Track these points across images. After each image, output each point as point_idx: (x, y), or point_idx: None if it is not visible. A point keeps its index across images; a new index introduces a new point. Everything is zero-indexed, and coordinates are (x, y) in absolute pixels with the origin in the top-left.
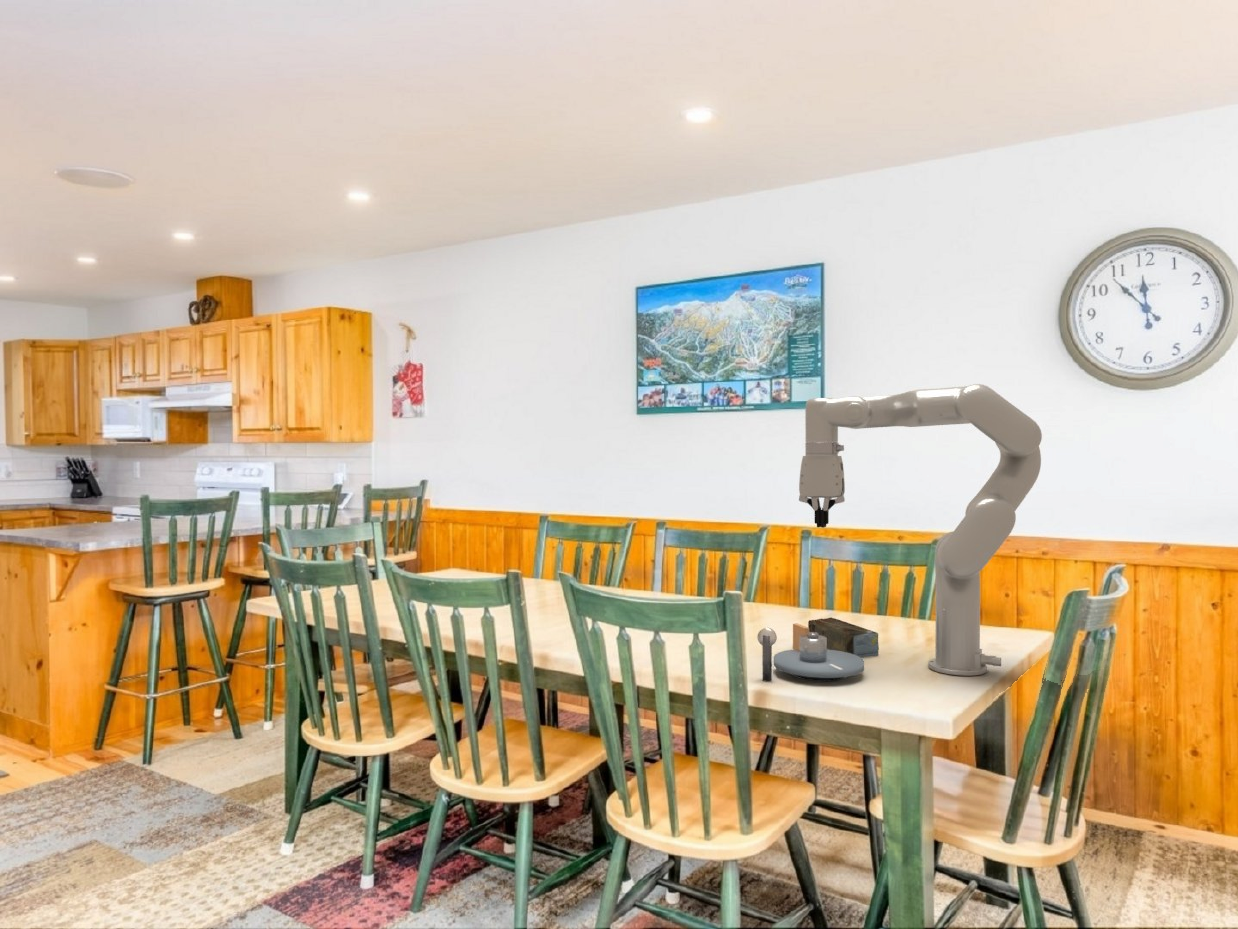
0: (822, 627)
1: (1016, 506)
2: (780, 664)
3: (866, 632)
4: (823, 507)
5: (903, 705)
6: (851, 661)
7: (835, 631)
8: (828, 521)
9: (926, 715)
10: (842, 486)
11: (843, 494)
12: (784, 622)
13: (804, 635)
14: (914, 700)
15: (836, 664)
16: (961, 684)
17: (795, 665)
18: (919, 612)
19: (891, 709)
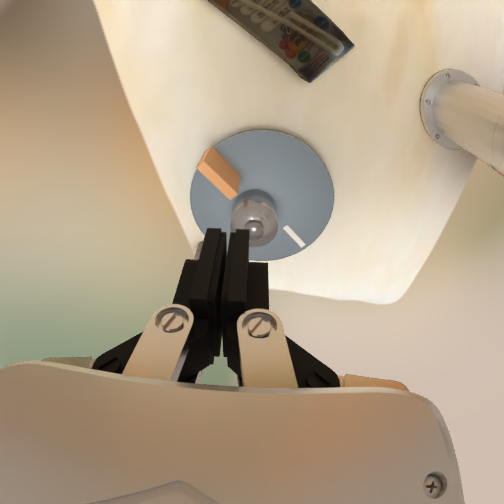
0: (229, 14)
1: None
2: None
3: (333, 54)
4: (241, 380)
5: (369, 280)
6: (314, 199)
7: (264, 42)
8: (267, 266)
9: (385, 298)
10: (446, 483)
11: (429, 407)
12: None
13: (236, 217)
14: (383, 262)
15: (293, 223)
16: (445, 184)
17: None
18: None
19: (355, 294)
